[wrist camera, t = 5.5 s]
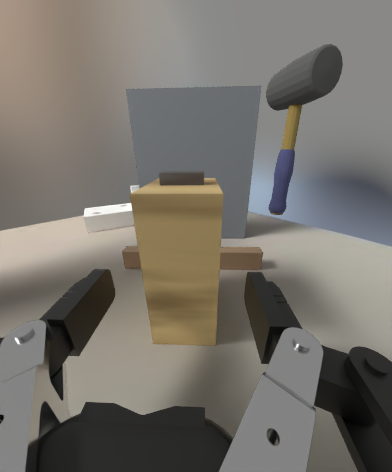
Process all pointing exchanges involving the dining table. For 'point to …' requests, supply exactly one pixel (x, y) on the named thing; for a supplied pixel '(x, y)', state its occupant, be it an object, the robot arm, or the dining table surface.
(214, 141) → the wall board
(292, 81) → the rubber mallet
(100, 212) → the bracket
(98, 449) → the robot arm
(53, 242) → the dining table surface
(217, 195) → the ochre block
